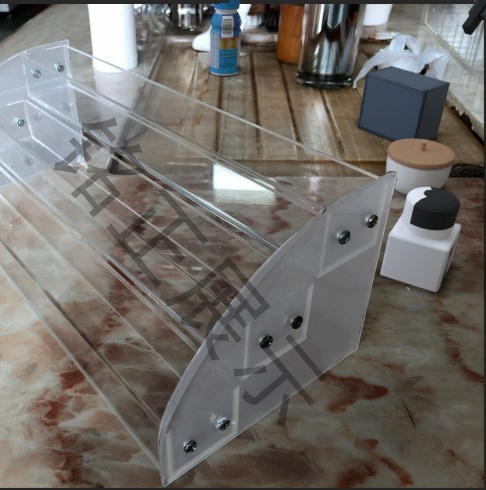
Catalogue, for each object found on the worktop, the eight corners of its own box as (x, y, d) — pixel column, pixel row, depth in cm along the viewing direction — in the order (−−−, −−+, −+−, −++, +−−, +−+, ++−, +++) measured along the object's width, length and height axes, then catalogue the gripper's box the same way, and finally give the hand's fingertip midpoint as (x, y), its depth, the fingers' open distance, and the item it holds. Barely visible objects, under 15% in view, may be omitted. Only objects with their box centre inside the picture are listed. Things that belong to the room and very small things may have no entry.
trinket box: (446, 183, 108) (459, 134, 102) (442, 210, 99) (456, 159, 94) (384, 173, 111) (394, 125, 106) (376, 198, 103) (386, 149, 98)
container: (448, 269, 86) (472, 189, 79) (435, 297, 80) (459, 215, 73) (394, 253, 89) (412, 176, 82) (378, 279, 84) (395, 199, 77)
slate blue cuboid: (411, 149, 120) (424, 91, 113) (357, 127, 130) (366, 73, 123) (436, 139, 124) (450, 82, 117) (381, 119, 133) (391, 65, 127)
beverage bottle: (203, 73, 164) (204, -4, 153) (220, 65, 169) (223, -10, 158) (228, 79, 159) (231, -1, 148) (245, 71, 164) (250, -6, 153)
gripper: (571, -50, 121) (499, 48, 122) (509, -56, 130) (443, 35, 131) (566, -78, 115) (492, 25, 117) (502, -82, 124) (434, 13, 126)
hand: (466, 30), depth 124 cm, fingers closed
